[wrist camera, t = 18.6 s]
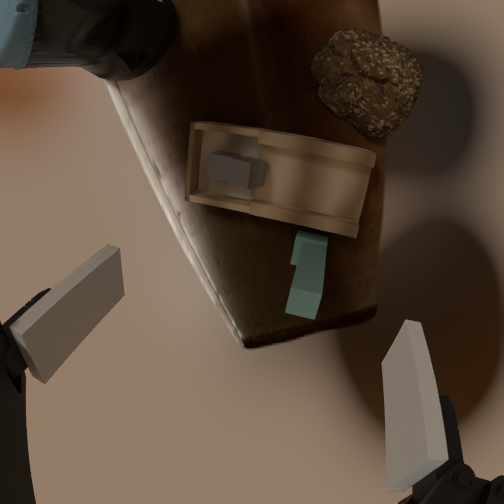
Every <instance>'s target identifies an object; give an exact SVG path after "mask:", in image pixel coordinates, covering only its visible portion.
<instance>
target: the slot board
mask: <svg viewBox="0 0 504 504" xmlns="http://www.w3.org/2000/svg"><path fill="white" fill-rule="evenodd" d="M218 150H219V151H226V152H233V153H240V154H241V157H244V156H248V157H252V158H256V159H260V160H264V161H267V166H266V173H265V180H264V186H262V187H257V188H253V189H248V190H247V189H244V188H241V187H238V186H235V185H232V184H229V183H228V181H222V180H216V179H210V178H207V173H208V162H209V154H210V153H212V152H215V151H218ZM376 156H377V155H376V154H375V153H374V152H373V151H370V150H366V149H363V148H358V147H354V146H350V145H346V144H342V143H337V142H333V141H328V140H323V139H319V138H314V137H309V136H303V135H298V134H293V133H287V132H281V131H275V130H269V129H263V128H256V127H249V126H242V125H234V124H226V123H217V122H208V121H196V122H191V124H190V135H189V146H188V159H187V173H186V188H185V201H190V202H196V203H201V204H206V205H211V206H216V207H221V208H226V209H231V210H236V211H241V212H245V213H249V214H251V215H255V216H260V217H265V218H269V219H274V220H279V221H283V222H288V223H292V224H297V225H301V226H306V227H310V228H314V229H319V230H323V231H327V232H332V233H336V234H340V235H344V236H349V237H353V238H356V237H357V233H358V230H359V218H360V215H361V211H362V207H363V203H364V199H365V195H366V191H367V187H368V182H369V178H370V174H371V169H372V168H374V165H375V161H376Z"/></svg>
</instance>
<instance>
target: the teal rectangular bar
mask: <svg viewBox="0 0 504 504" xmlns="http://www.w3.org/2000/svg"><path fill="white" fill-rule="evenodd" d="M327 244H328V237H326V236H322V235H317V234H313V233H309V232H304V231H300V230H298V232H297V235H296V239H295V244H294V249H293V254H292V259H291V263H290V264H293V265H297V267H296V271H295V274H294V278H293V282H292V285H291V289H290V294H289V298H288V302H287V306H286V310H285V313H289V314H293V315H297V316H301V317H306V318H310V319H314V320H315V316H316V313H317V310H318V307H319V303H320V300H321V297H322V291H323V282H324V272H325V261H326V250H327Z"/></svg>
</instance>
